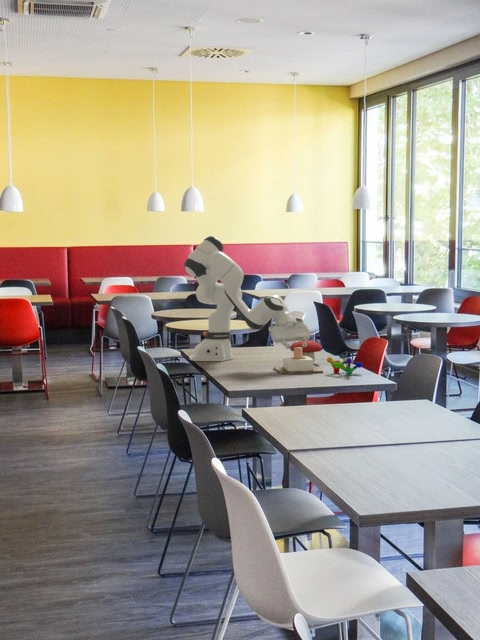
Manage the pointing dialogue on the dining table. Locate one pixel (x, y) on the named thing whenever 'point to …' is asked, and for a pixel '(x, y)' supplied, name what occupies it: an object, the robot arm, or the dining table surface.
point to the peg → (297, 352)
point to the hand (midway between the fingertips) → (297, 347)
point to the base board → (284, 371)
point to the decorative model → (340, 365)
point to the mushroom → (307, 348)
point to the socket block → (298, 364)
